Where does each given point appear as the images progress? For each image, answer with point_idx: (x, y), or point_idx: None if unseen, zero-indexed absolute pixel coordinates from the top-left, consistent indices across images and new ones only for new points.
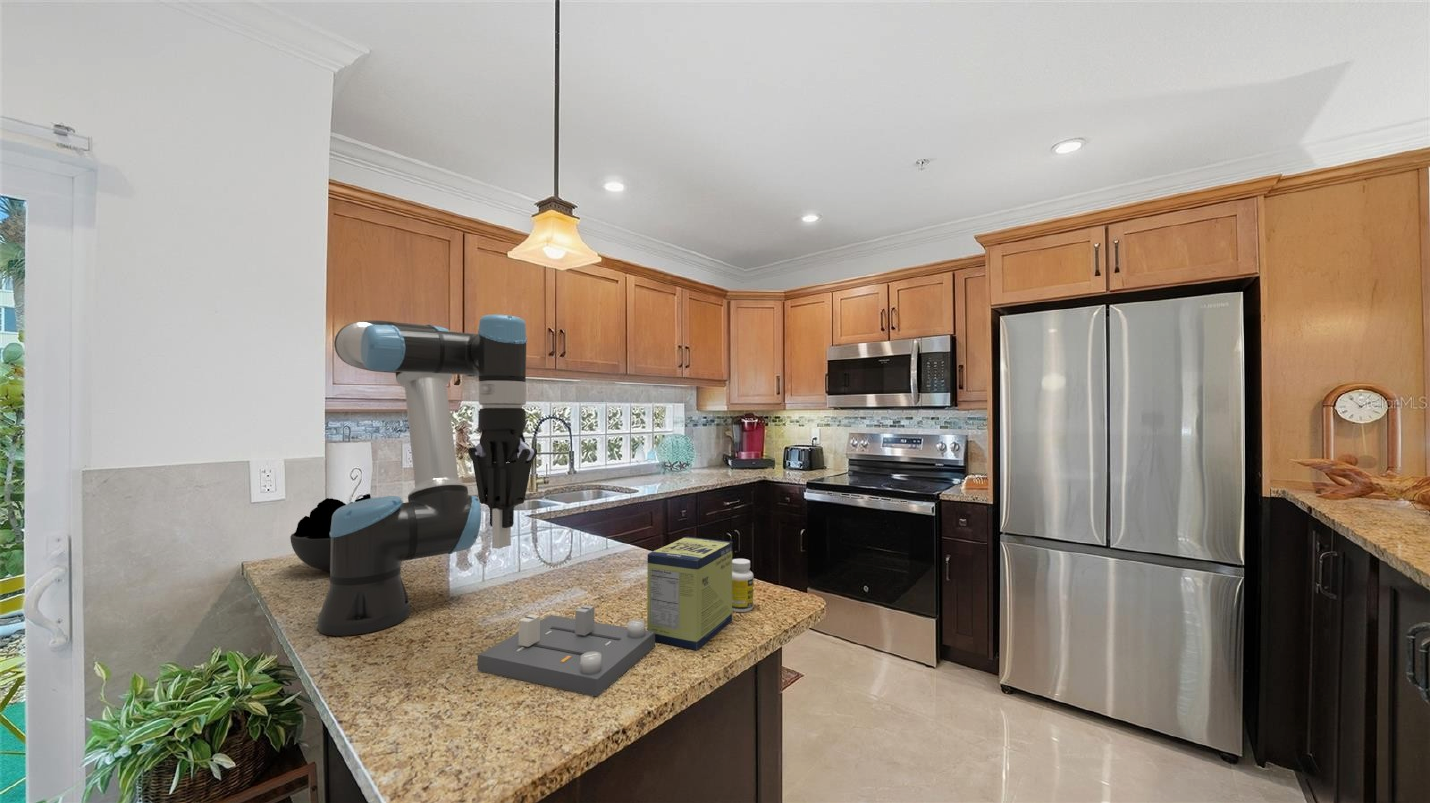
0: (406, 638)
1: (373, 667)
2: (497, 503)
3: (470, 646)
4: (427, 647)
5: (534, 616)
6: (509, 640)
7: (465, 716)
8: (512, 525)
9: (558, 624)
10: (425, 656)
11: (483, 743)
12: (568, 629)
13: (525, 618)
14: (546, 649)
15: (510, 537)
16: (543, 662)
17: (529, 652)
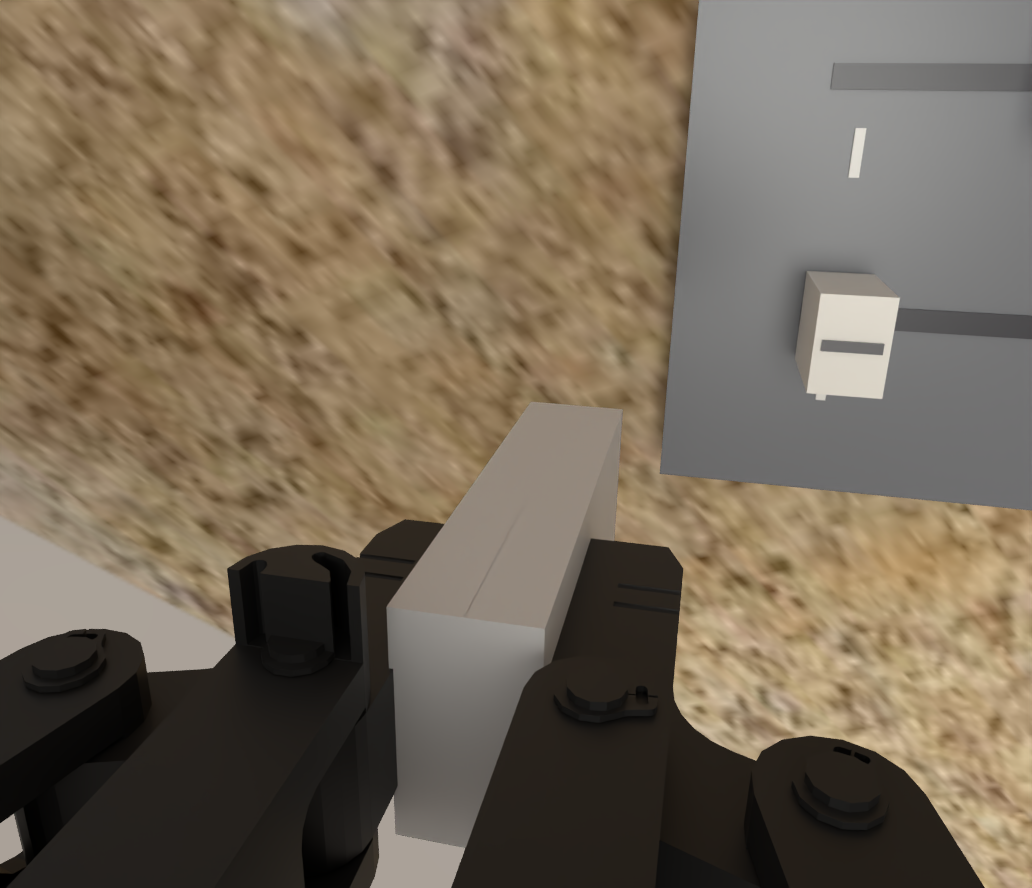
0: (151, 290)
1: (281, 523)
2: (367, 801)
3: (463, 268)
4: (304, 334)
5: (868, 315)
6: (701, 306)
7: (851, 711)
8: (672, 563)
9: (849, 11)
10: (369, 404)
11: (1011, 814)
12: (961, 67)
13: (831, 359)
14: (960, 340)
15: (612, 438)
16: (1021, 465)
17: (888, 393)
